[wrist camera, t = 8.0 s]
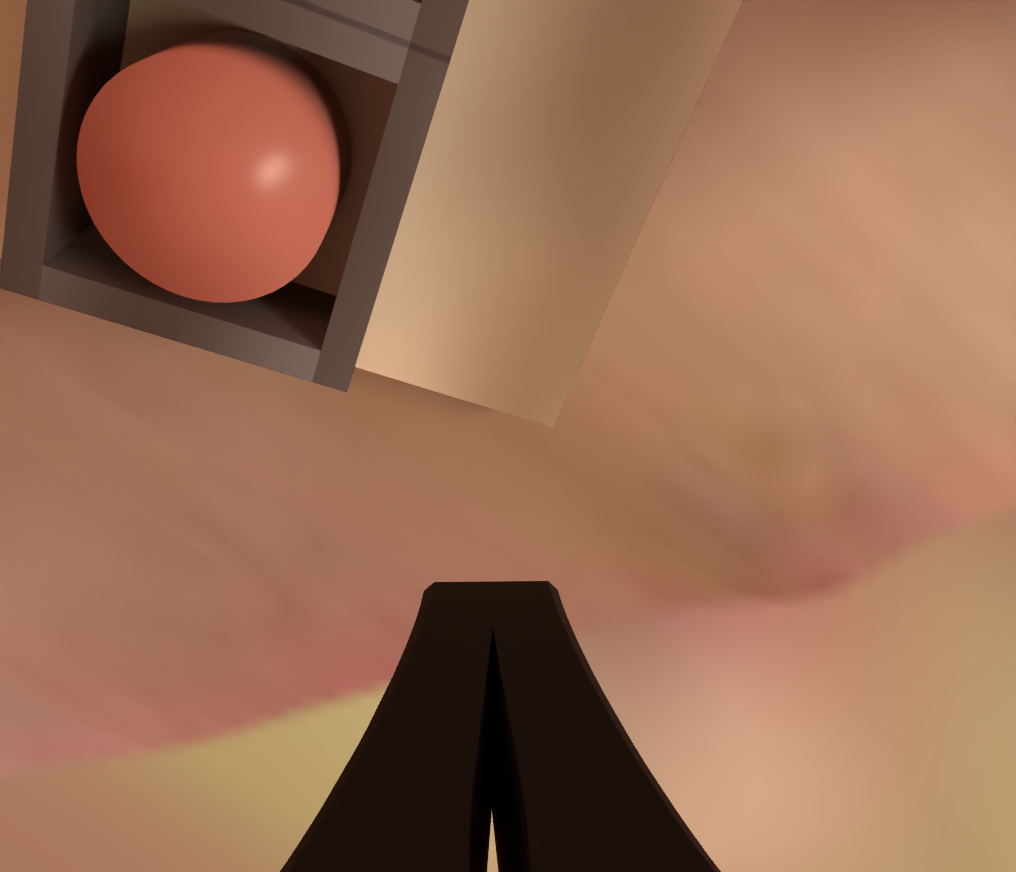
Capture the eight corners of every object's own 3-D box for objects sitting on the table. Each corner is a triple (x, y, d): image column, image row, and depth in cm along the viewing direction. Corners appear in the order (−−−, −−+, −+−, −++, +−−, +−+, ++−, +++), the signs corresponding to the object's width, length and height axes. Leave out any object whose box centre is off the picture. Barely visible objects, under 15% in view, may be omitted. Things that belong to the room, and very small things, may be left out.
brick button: (376, 78, 15) (360, 107, 13) (321, 276, 17) (298, 332, 14) (152, -5, 14) (94, 10, 12) (118, 211, 16) (61, 259, 14)
